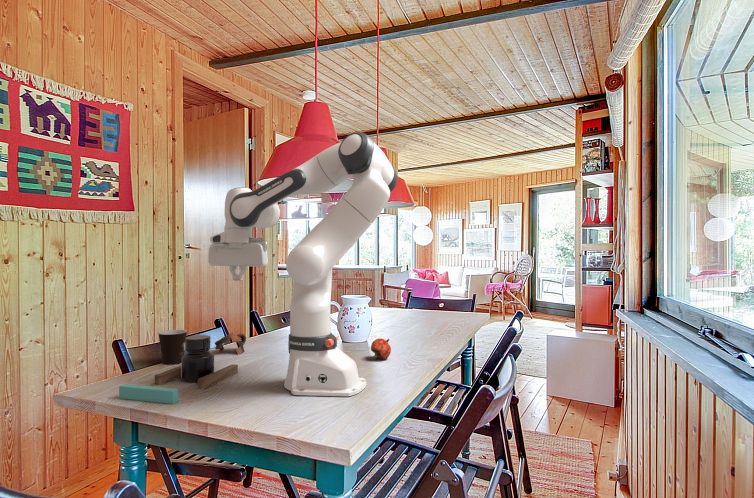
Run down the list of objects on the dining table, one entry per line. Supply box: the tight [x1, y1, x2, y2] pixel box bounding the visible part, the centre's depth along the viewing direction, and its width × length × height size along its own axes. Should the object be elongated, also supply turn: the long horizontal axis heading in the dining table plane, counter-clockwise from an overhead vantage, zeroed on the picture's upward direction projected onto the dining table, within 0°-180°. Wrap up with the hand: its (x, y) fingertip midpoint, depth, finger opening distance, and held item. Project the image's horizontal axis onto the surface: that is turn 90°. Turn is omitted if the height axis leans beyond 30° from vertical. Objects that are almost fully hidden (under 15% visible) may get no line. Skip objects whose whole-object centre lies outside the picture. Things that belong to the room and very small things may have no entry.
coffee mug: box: [158, 329, 188, 366], centre depth 151 cm, size 12×9×10 cm
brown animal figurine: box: [214, 332, 247, 355], centre depth 164 cm, size 12×10×8 cm
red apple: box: [369, 338, 392, 361], centre depth 153 cm, size 7×7×10 cm
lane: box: [154, 364, 239, 390], centre depth 131 cm, size 16×16×2 cm
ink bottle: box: [180, 334, 215, 383], centre depth 131 cm, size 10×9×12 cm
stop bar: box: [118, 383, 179, 405], centre depth 112 cm, size 16×2×3 cm, turn 74°
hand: (237, 280), depth 147 cm, fingers closed
